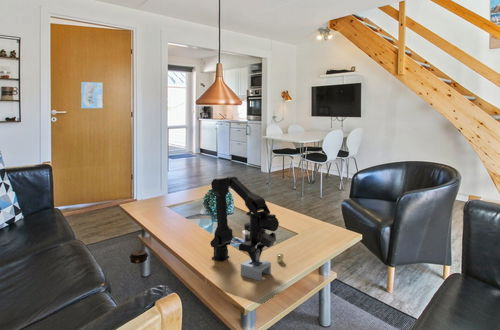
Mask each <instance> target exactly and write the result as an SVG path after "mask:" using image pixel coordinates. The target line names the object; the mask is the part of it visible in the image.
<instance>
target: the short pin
mask: <svg viewBox="0 0 500 330" xmlns="http://www.w3.org/2000/svg"><path fill="white" fill-rule="evenodd" d="M276 255H277V256H276V262H277V264H283V263H284V254H283V253H278V254H276Z"/></svg>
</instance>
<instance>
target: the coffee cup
mask: <svg viewBox="0 0 500 330" xmlns="http://www.w3.org/2000/svg"><path fill="white" fill-rule="evenodd" d="M148 257H149V254H148V252H147V251H146V250H144V249H142V250H141V249H139V250H134V251H132V252H131V253H130V255H129V260H130V263H132V264H136V265H137V264H142V263H144V262H146V261H147V259H148Z"/></svg>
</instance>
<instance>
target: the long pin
mask: <svg viewBox="0 0 500 330" xmlns="http://www.w3.org/2000/svg"><path fill="white" fill-rule="evenodd" d="M257 248H258V249H259V250H258V251H257V252H256V261H255V263H253V265H254V266H259V262H260V260H261V259H260V258H261V256H260V248H259V247H257Z"/></svg>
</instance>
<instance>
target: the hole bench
mask: <svg viewBox="0 0 500 330" xmlns="http://www.w3.org/2000/svg"><path fill="white" fill-rule="evenodd" d="M271 267H272V262H270V261H267V260H262V259H260V262H259V266H254V265H253V262H252V260H251V258H249V259H247V260H245V261H244V262H242V263H240V276H243V277H246V278H249V279H252V280H255V281H259V282H261V281H263V277H262V276H263V274H266V275H271V273H272V268H271ZM262 273H263V274H262Z"/></svg>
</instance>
